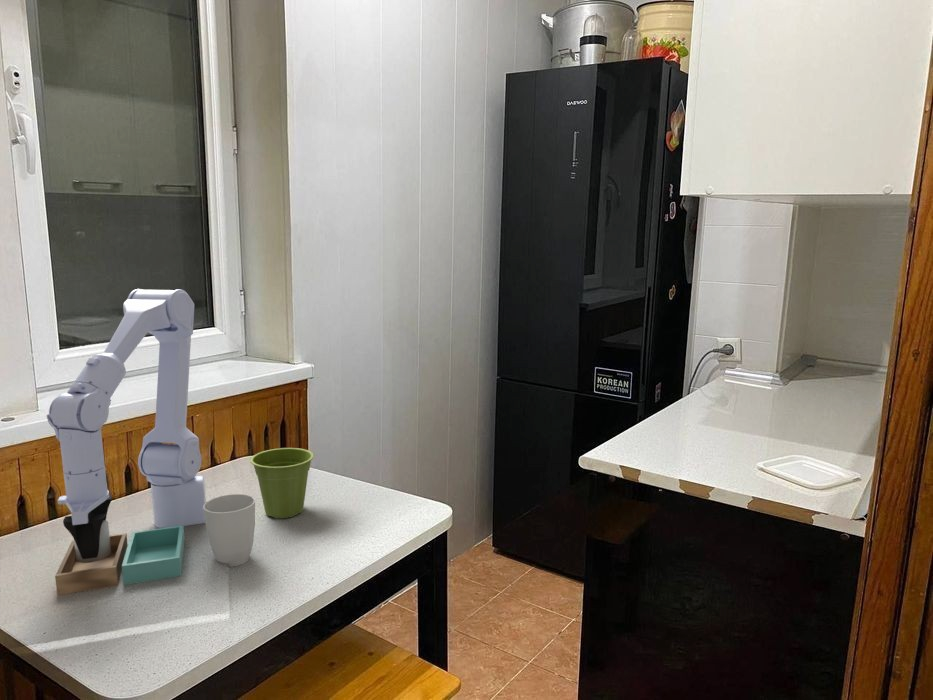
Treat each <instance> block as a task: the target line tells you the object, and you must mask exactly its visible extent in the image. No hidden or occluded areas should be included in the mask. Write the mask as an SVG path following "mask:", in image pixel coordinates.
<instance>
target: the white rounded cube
mask: <svg viewBox="0 0 933 700" xmlns="http://www.w3.org/2000/svg"><path fill="white" fill-rule="evenodd" d="M110 535H111V534H110V527H109V521H108V520H107V519H106V520H103V522H102V526H101V530H100V542H99V552H98V556H97V557H96V558H89V559H82V557H81V555H80V552H79V550H78V547H77V545H76V542H75V540H74V539H73V540H74V546H75V555H76V560H77V561H78V562H81V563H90V562H95V561H99V560H102V559H104V558H106V557H108V556H109V555H110V554H111V545H110Z"/></svg>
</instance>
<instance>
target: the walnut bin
mask: <svg viewBox="0 0 933 700" xmlns="http://www.w3.org/2000/svg"><path fill="white" fill-rule="evenodd" d="M127 534H128V533H127V532H124V533H123V532H122V533H115V534H109V535H110V545H111V554H110V555H109V556H108V557H106V558H104V559H102V560H99V561H95V562H90V563H81V562H78V561H77V560H76V555H75V546H74V539H72V540H71V543H70V545H69V546H68V549H67V550H66V553H65V554H64V557H63V559H62V561H61V562H60V565H59V567H58V569H57V571H56V574H55V576H54V578H55V587H56V595H57V596H61V595H66V594H67V595H68V594H74V593H79V592H87V591H93V590H98V589H106V588H112V587H117V586H119V582H120V579H121V576H122V564H123V560H124V557H125V553H126V550H127V546H128V543H129V542H128V535H127Z"/></svg>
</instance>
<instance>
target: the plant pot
mask: <svg viewBox="0 0 933 700" xmlns="http://www.w3.org/2000/svg"><path fill="white" fill-rule="evenodd" d="M314 455H315V454H314V453H313V452H312V451H310V450H308V449H305V448H301V447H300V448H297V447H281V448H273V449H267V450H263V451H259V452H258V453H255V454H254V455H253V456H251V458H250V460H249V461H250V463H251V465H253V467H254V472H255V474H256V476H257V477H256V478H257V481H258V484H259V489H260V493H261V499H262V503H263V507H264V512H265V514H266V516H268V517H272V518H274V519H289V518H288V517H290V518H294V517H295V516H296V515H298V514H302V512H303V511H304V507H305V506H304V505H305V498H306V491H307V485H308V484H307V483H308V477H309V472H310V469H311V463H312V462H311V461H312V460H313V459H314Z"/></svg>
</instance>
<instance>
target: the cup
mask: <svg viewBox="0 0 933 700" xmlns="http://www.w3.org/2000/svg"><path fill="white" fill-rule="evenodd" d="M203 509H204V516H205V522H206V523H205V527H206V534H207V537H208V541H209V544H210V547H211V551H212V554H213V555H214V557H215V560H216V561H217V562H218V563H221V564H226V567H227V568H231V567H237V566H240V565H243V564H245V563H247V562H248V561H249V560H250V556H251V552H252V548H253V545H254V537H255V536H254V534H255V529H256V528H255V527H256V499H255V497H253V496H252V495H249V494H243V493H233V494H232V493H231V494H224V495H221V496H217V497H213V498H212V499H210V500H206V503H205V504H204V506H203Z"/></svg>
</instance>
